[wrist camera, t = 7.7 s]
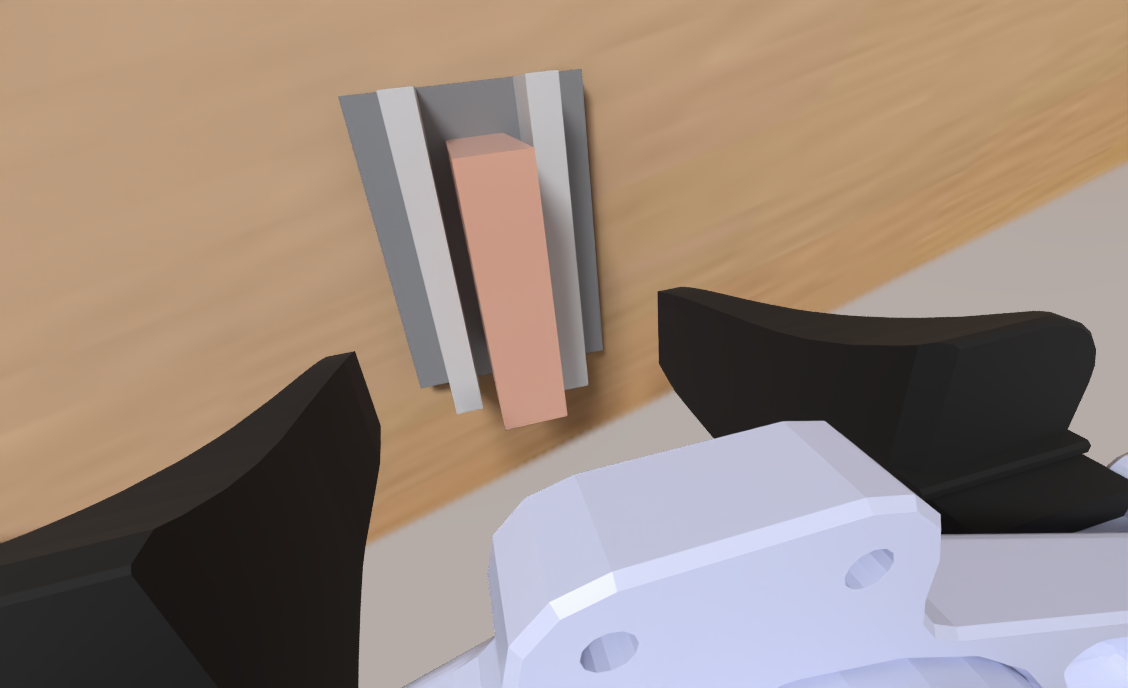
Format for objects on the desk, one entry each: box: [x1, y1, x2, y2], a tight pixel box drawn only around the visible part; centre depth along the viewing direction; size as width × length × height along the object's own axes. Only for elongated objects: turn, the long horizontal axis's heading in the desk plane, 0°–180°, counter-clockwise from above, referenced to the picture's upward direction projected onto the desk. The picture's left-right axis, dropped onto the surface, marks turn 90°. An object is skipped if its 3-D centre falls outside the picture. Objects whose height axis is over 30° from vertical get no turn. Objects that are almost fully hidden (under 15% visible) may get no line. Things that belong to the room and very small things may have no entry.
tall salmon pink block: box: [445, 133, 567, 430], centre depth 16 cm, size 2×8×6 cm, turn 6°
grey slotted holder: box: [338, 69, 603, 414], centre depth 18 cm, size 8×11×4 cm
